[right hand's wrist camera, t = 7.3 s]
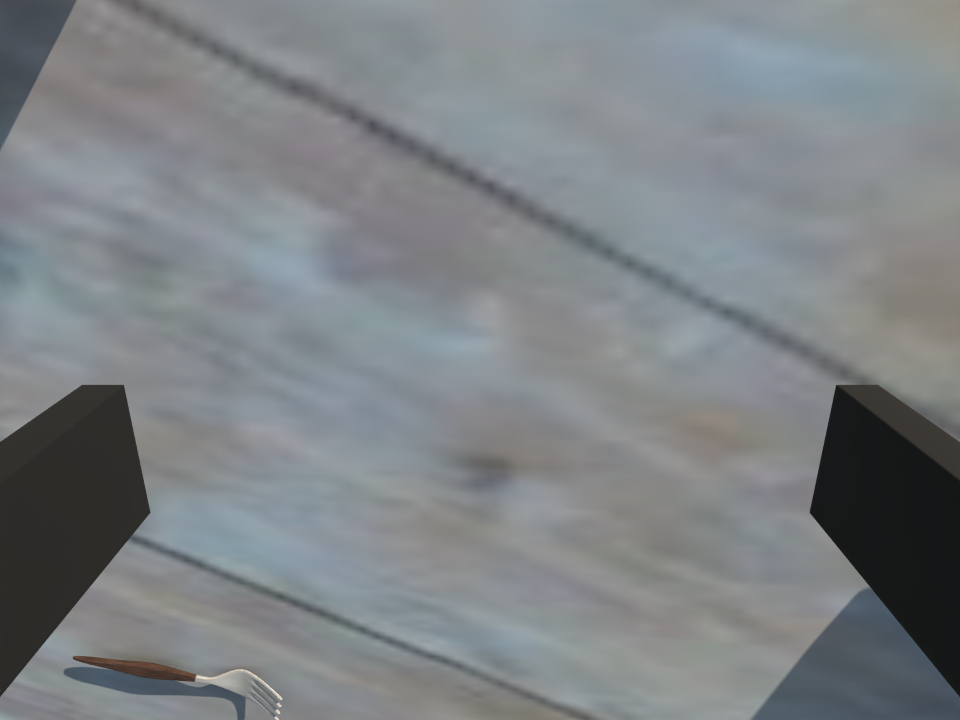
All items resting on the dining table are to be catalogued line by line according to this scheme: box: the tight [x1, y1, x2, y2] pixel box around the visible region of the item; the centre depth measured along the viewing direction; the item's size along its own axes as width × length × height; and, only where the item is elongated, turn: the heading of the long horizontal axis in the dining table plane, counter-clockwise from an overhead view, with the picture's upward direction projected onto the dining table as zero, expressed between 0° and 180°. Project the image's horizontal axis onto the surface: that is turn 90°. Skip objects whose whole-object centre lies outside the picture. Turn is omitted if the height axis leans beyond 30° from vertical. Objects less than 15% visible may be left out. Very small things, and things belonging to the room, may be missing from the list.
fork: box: [73, 656, 282, 720], centre depth 50 cm, size 3×16×2 cm, turn 76°
